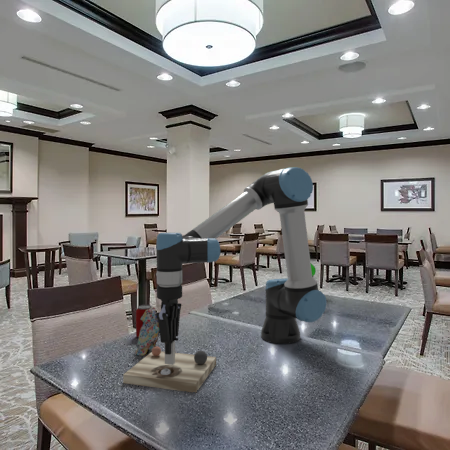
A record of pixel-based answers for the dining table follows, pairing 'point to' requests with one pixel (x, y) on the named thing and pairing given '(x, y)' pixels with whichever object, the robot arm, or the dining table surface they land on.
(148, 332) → the figurine
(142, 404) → the dining table surface
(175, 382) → the board
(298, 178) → the robot arm
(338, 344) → the dining table surface
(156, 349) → the pink rubber ball
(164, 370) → the steel ball
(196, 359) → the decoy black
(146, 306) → the beverage can
